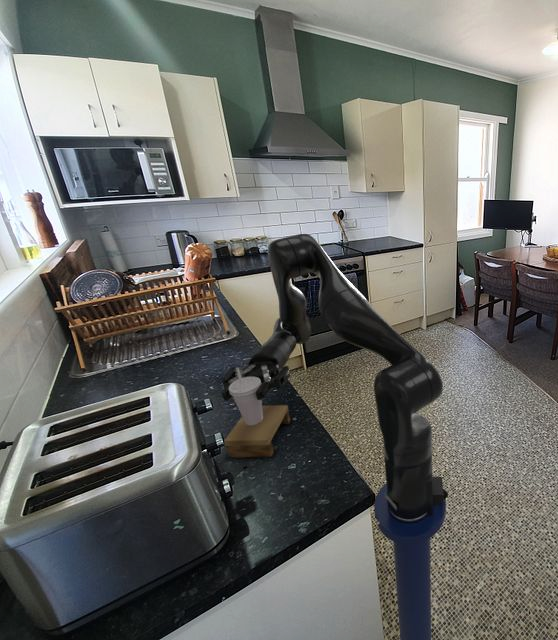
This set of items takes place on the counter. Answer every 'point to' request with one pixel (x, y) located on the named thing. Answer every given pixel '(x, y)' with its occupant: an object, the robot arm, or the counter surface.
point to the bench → (257, 433)
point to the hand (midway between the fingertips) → (241, 396)
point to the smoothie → (247, 398)
